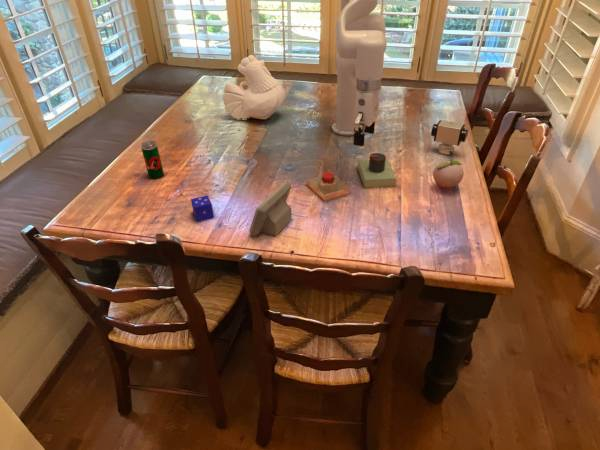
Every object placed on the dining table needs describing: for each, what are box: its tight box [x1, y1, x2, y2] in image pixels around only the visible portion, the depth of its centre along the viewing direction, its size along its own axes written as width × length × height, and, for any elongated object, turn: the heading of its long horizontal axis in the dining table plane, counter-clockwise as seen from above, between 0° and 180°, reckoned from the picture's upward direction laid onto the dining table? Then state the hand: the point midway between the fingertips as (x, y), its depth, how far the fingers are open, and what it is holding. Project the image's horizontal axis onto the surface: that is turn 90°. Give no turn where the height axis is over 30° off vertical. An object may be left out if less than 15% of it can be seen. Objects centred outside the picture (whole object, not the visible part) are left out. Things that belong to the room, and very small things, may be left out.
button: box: [321, 171, 335, 182], centre depth 137 cm, size 4×4×2 cm
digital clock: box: [249, 181, 292, 237], centre depth 122 cm, size 16×9×11 cm, turn 140°
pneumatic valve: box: [430, 119, 469, 156], centre depth 155 cm, size 6×12×12 cm, turn 61°
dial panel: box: [357, 158, 397, 188], centre depth 145 cm, size 13×10×3 cm
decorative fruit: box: [432, 159, 465, 189], centre depth 136 cm, size 9×8×10 cm
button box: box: [306, 173, 350, 202], centre depth 139 cm, size 11×9×4 cm
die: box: [190, 195, 215, 222], centre depth 128 cm, size 5×5×5 cm
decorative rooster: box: [222, 54, 286, 121], centre depth 182 cm, size 25×16×25 cm
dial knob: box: [368, 152, 387, 173], centre depth 142 cm, size 5×5×5 cm
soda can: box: [140, 140, 165, 180], centre depth 145 cm, size 5×5×12 cm
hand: (363, 138), depth 134 cm, fingers open, 9 cm apart
